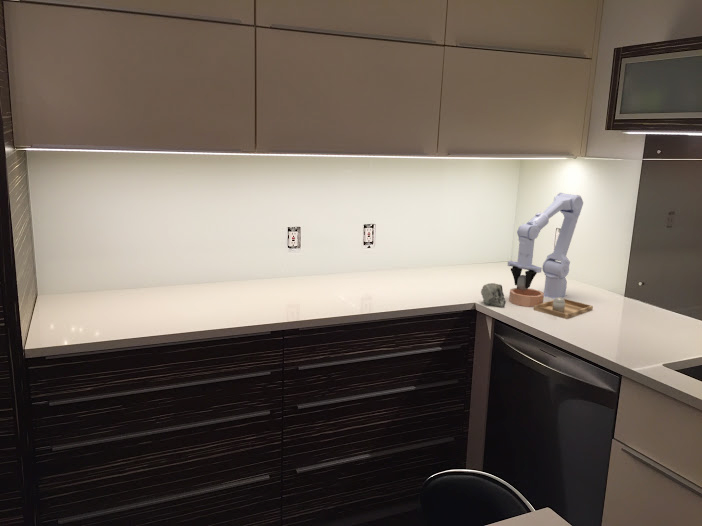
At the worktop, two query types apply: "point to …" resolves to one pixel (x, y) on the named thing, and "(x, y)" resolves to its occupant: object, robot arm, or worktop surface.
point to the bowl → (526, 297)
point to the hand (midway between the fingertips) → (522, 286)
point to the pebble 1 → (521, 282)
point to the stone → (493, 294)
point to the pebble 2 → (559, 304)
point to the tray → (569, 310)
